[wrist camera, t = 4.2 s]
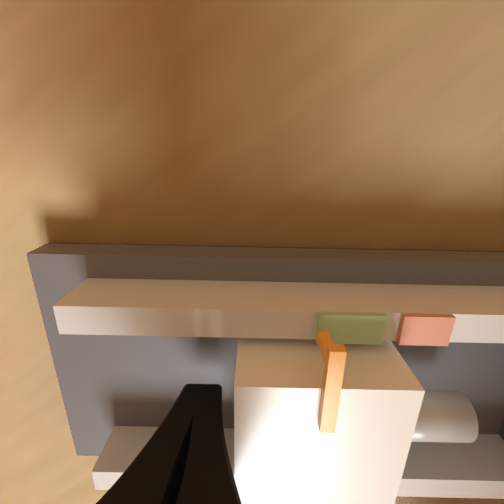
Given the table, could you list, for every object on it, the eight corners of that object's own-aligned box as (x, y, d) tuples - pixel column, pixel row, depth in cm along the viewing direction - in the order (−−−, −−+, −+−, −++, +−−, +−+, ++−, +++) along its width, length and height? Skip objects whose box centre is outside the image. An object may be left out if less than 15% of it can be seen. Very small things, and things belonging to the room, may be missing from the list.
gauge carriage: (459, 284, 11) (563, 356, 7) (418, 429, 13) (481, 539, 10) (240, 279, 11) (233, 349, 7) (239, 425, 13) (233, 534, 10)
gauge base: (614, 254, 12) (869, 333, 7) (529, 441, 15) (660, 584, 10) (48, 243, 12) (-97, 313, 7) (90, 432, 15) (12, 568, 10)
